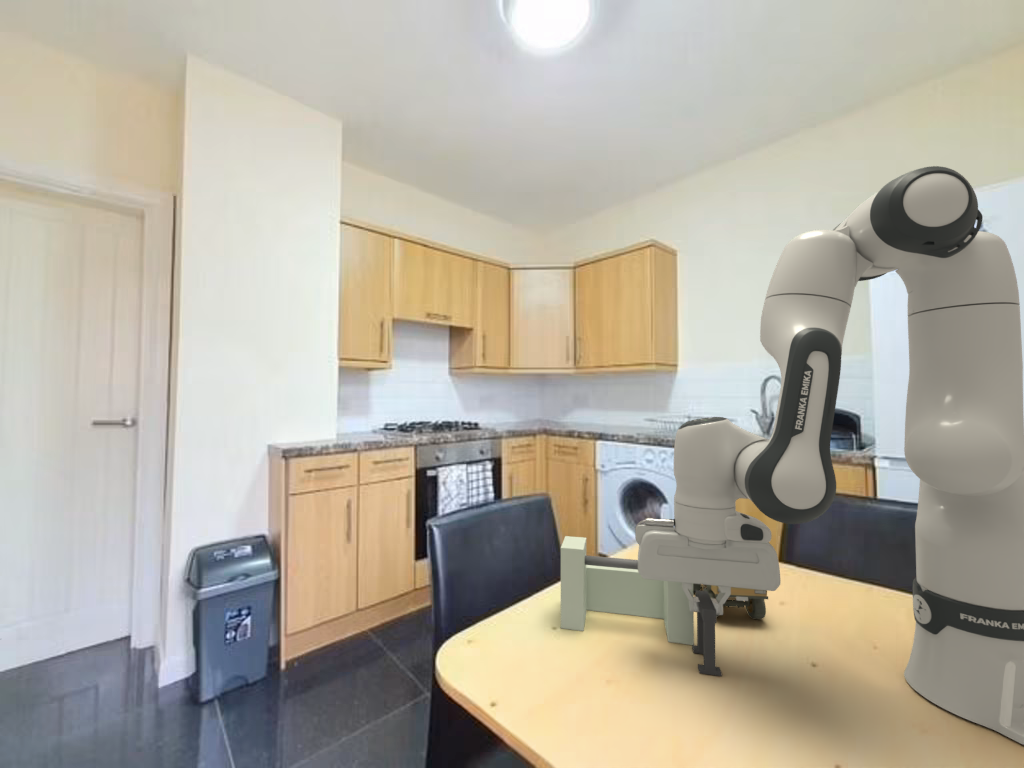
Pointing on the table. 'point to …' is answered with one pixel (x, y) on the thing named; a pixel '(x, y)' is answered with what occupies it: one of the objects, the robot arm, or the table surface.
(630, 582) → the lever switch frame
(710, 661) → the dark grey flanged post
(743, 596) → the toy car
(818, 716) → the table surface
